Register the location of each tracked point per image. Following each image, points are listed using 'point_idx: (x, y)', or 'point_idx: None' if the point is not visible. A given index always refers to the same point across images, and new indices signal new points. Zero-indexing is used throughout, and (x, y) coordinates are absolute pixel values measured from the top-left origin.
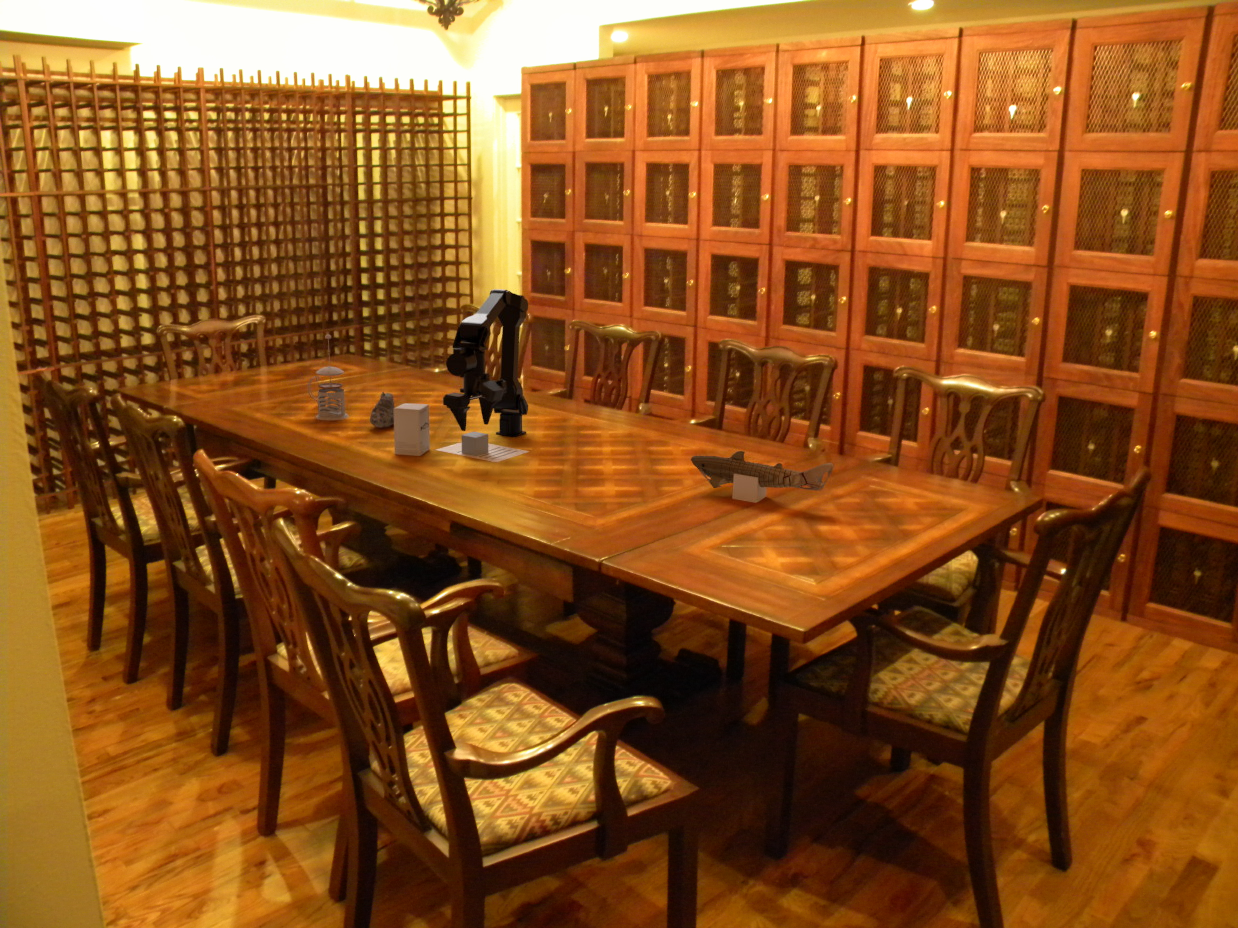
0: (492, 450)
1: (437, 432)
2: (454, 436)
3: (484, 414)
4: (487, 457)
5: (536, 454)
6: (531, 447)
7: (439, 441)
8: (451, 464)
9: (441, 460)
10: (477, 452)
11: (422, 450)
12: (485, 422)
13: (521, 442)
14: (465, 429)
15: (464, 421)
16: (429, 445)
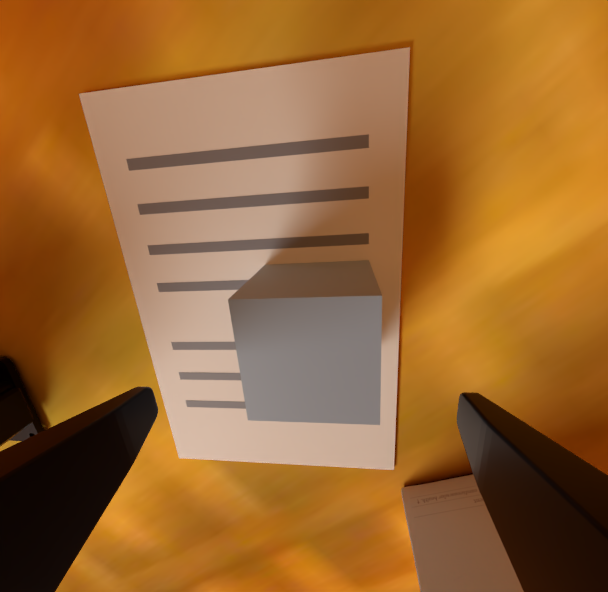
0: (222, 275)
1: (193, 577)
2: (183, 520)
3: (86, 492)
4: (351, 190)
5: (76, 13)
6: (21, 170)
7: (271, 522)
8: (588, 257)
9: (533, 351)
10: (358, 265)
11: None
12: (145, 413)
13: (17, 279)
14: (472, 398)
15: (588, 472)
16: (408, 506)
